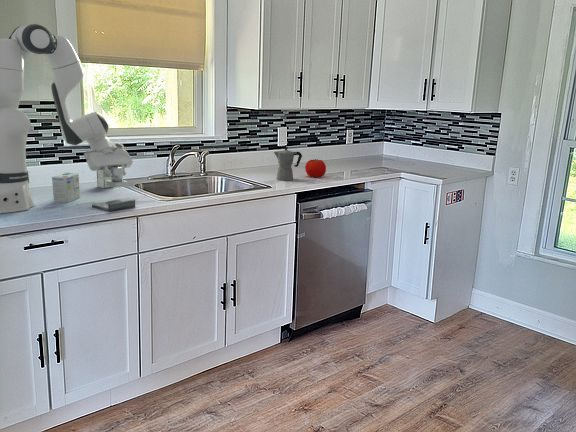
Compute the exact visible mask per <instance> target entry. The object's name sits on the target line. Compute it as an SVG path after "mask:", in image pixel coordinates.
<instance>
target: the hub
mask: <svg viewBox="0 0 576 432" xmlns="http://www.w3.org/2000/svg"><path fill="white" fill-rule="evenodd" d="M111 172H113V174H114V176H113V177H111V180H108V181H106V185H107V186H111V187H110V188H116V189H117V188H124V187H129V181H128V180H124V176H123V167H120V166H113V167H111Z"/></svg>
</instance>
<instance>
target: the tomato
mask: <svg viewBox="0 0 576 432" xmlns="http://www.w3.org/2000/svg"><path fill="white" fill-rule="evenodd" d="M304 169H305V172H306V175H307V176H308V177H311V178H322V177H324V176H325V174H326V172H327V165H326V162H324V161H323V160H322V159H319V158H317V159H310V160H308V161H307V162H306V163H305V167H304Z"/></svg>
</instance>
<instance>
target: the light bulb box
mask: <svg viewBox="0 0 576 432" xmlns="http://www.w3.org/2000/svg"><path fill="white" fill-rule="evenodd" d="M51 181H52V183H51V184H52V196H53V202H54V203H67V204H68V203H70V202H72V201H74V200H78V199H79V198H80V197H81V191H80V189H81V188H80V176H79V173H78V172H77V173H76V172H63V173H59V174H57V175H55V176H52V177H51Z"/></svg>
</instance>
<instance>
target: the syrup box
mask: <svg viewBox="0 0 576 432" xmlns="http://www.w3.org/2000/svg"><path fill="white" fill-rule="evenodd" d="M108 170H109V171H110V172H111V169H108ZM108 180H111V177H109V176H108V174H106V173H105V172H103V170H98V171H96V186H97V187H98V188H102V189H107V188H112V187H111V186H107V185H106V181H108Z"/></svg>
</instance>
